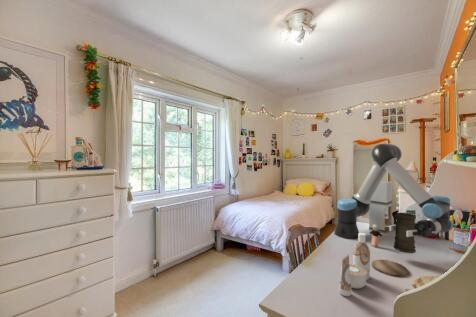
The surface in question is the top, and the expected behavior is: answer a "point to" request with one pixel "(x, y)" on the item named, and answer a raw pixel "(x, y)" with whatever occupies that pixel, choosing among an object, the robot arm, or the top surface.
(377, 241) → the grandmother figurine
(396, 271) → the walnut board
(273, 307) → the top surface
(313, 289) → the top surface
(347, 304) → the top surface
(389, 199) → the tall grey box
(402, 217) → the container
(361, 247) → the cosmetic set
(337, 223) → the robot arm
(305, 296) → the top surface
